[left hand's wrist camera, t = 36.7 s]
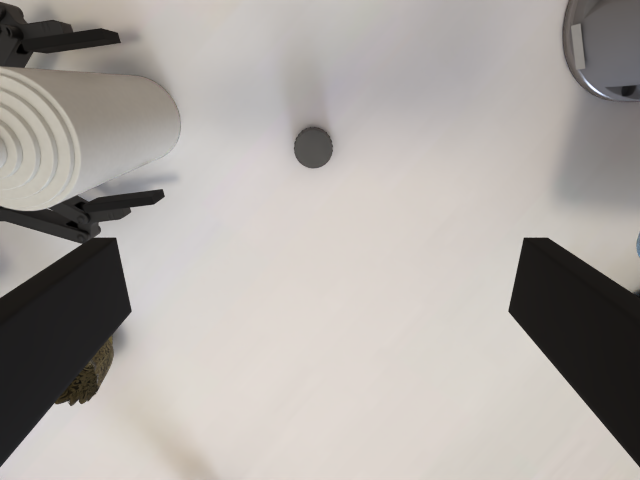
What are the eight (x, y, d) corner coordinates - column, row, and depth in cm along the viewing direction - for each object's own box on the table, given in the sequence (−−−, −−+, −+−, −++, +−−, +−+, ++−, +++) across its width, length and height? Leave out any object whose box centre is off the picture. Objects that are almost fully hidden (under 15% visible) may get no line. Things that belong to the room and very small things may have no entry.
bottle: (191, 99, 39) (39, 112, 17) (167, 173, 42) (10, 263, 20) (109, 59, 37) (-165, 22, 16) (89, 139, 40) (-167, 197, 19)
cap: (288, 135, 40) (287, 138, 38) (323, 120, 40) (323, 122, 38) (303, 170, 42) (303, 174, 39) (337, 156, 41) (338, 159, 39)
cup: (141, 348, 50) (110, 394, 42) (94, 366, 51) (56, 414, 43) (108, 302, 47) (69, 343, 40) (58, 323, 48) (11, 366, 41)
